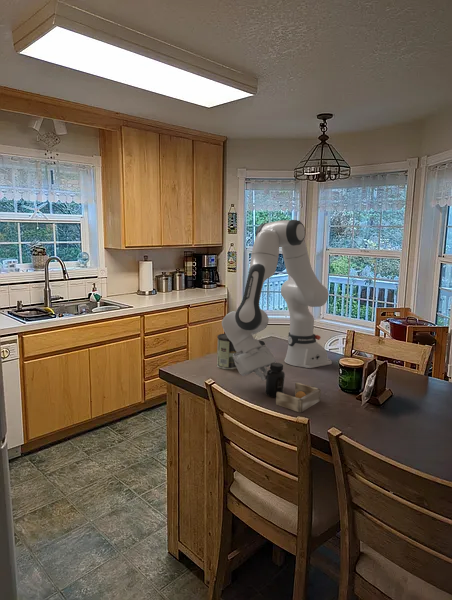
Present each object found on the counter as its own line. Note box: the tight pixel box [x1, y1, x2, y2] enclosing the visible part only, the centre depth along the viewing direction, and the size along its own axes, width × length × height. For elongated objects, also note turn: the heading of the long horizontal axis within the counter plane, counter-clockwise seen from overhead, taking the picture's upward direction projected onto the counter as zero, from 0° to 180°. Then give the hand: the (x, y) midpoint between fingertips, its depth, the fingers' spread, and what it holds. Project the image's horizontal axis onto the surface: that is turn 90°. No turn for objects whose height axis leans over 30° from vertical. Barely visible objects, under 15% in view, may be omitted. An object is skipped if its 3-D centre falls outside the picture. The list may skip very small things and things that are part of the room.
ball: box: [294, 391, 306, 398], centre depth 158 cm, size 4×4×4 cm
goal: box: [275, 382, 322, 413], centre depth 157 cm, size 10×14×4 cm
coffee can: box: [216, 333, 237, 370], centre depth 195 cm, size 10×10×14 cm
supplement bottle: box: [264, 362, 286, 398], centre depth 163 cm, size 7×7×12 cm
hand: (266, 379), depth 165 cm, fingers closed, pressing on supplement bottle
